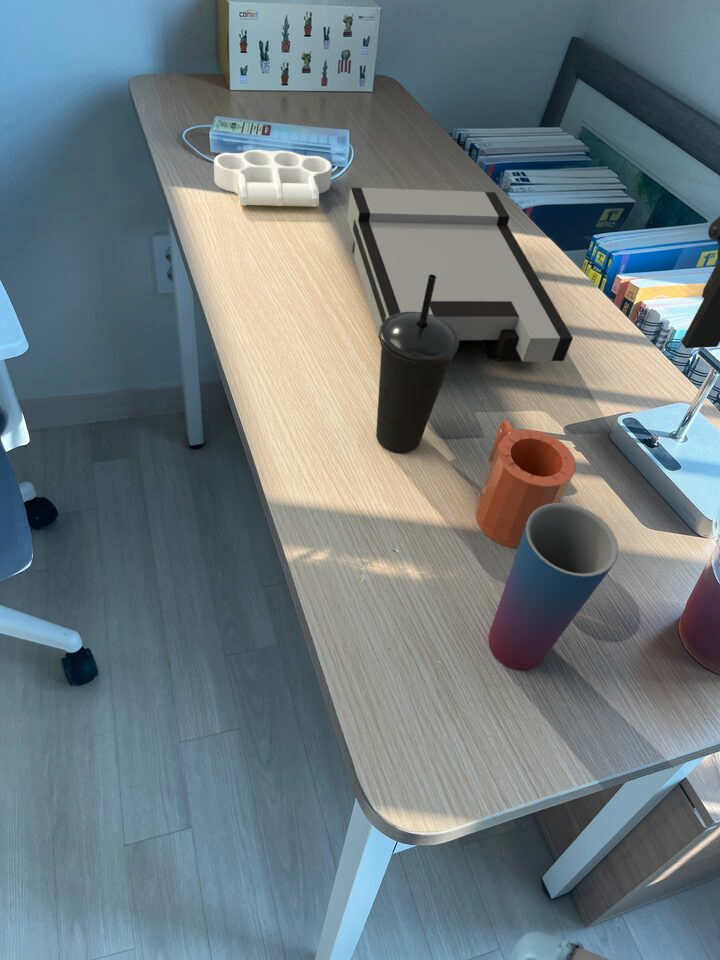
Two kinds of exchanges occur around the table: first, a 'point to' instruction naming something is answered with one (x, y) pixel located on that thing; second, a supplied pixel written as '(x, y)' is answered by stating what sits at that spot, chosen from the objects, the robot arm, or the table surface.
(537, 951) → the robot arm
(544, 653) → the cup
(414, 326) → the drinking cup
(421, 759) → the table surface
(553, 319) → the game console
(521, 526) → the mug
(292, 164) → the knuckle duster
